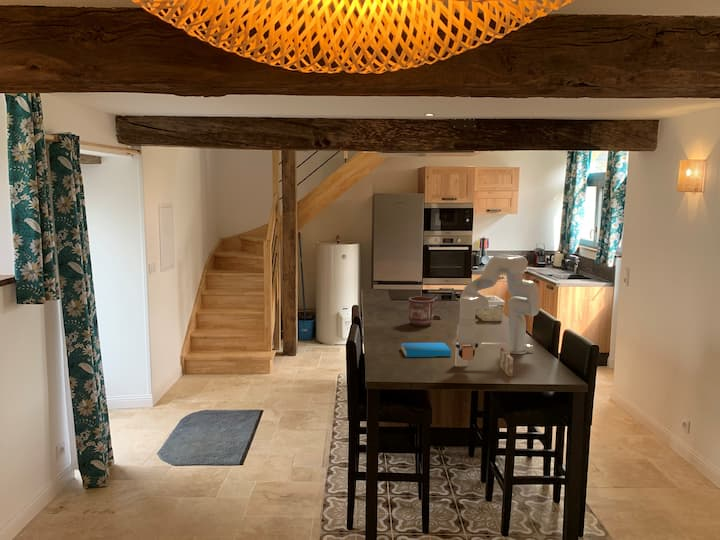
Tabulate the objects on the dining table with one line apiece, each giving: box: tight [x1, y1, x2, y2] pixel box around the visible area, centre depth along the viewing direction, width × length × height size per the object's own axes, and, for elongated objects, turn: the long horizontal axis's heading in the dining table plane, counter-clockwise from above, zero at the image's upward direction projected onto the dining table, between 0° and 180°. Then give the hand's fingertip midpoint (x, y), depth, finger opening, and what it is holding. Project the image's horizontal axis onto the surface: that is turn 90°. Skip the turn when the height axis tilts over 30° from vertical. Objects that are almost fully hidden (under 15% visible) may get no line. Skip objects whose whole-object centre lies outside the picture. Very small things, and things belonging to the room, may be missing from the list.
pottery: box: [408, 296, 436, 328], centre depth 391 cm, size 18×18×18 cm
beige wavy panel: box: [499, 348, 514, 377], centre depth 291 cm, size 18×2×10 cm, turn 2°
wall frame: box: [454, 342, 511, 367], centre depth 300 cm, size 28×2×12 cm, turn 92°
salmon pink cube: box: [462, 345, 474, 361], centre depth 290 cm, size 5×6×6 cm
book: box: [401, 342, 452, 358], centre depth 324 cm, size 17×4×25 cm
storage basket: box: [475, 295, 506, 322], centre depth 414 cm, size 24×16×15 cm
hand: (466, 356), depth 290 cm, fingers closed on salmon pink cube, 5 cm apart
